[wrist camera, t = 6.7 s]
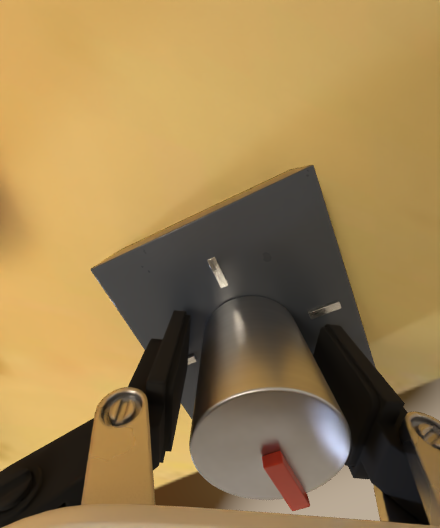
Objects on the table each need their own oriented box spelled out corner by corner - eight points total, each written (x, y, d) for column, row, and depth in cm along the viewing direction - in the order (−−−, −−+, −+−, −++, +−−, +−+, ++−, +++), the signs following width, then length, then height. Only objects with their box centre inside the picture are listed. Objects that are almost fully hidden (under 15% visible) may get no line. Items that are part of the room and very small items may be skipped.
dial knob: (186, 318, 11) (155, 436, 6) (275, 279, 10) (326, 374, 5) (228, 385, 12) (232, 529, 7) (310, 354, 11) (378, 489, 6)
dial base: (119, 250, 13) (87, 270, 10) (291, 168, 11) (315, 163, 8) (211, 400, 16) (209, 448, 13) (353, 352, 15) (385, 394, 12)
